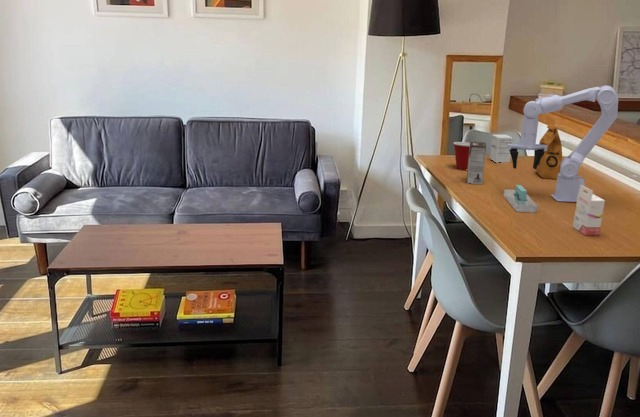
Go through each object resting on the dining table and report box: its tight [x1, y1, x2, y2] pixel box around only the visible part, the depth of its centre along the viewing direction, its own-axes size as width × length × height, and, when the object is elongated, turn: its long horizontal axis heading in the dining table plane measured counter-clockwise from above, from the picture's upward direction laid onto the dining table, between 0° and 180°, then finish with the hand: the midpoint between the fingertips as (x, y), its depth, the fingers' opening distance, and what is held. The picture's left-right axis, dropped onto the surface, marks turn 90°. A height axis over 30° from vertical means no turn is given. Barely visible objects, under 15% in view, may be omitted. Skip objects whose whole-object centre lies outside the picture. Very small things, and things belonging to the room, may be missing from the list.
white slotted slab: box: [503, 189, 539, 213], centre depth 217 cm, size 7×20×2 cm, turn 176°
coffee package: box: [535, 123, 563, 180], centre depth 254 cm, size 10×12×22 cm
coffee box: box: [466, 141, 487, 185], centre depth 244 cm, size 9×6×16 cm
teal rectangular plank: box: [514, 184, 528, 201], centre depth 217 cm, size 2×8×6 cm, turn 177°
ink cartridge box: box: [572, 185, 606, 236], centre depth 188 cm, size 9×5×15 cm, turn 5°
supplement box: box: [489, 134, 514, 163], centre depth 280 cm, size 7×7×13 cm
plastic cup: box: [452, 141, 470, 170], centre depth 266 cm, size 11×11×12 cm
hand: (524, 168), depth 227 cm, fingers open, 7 cm apart
